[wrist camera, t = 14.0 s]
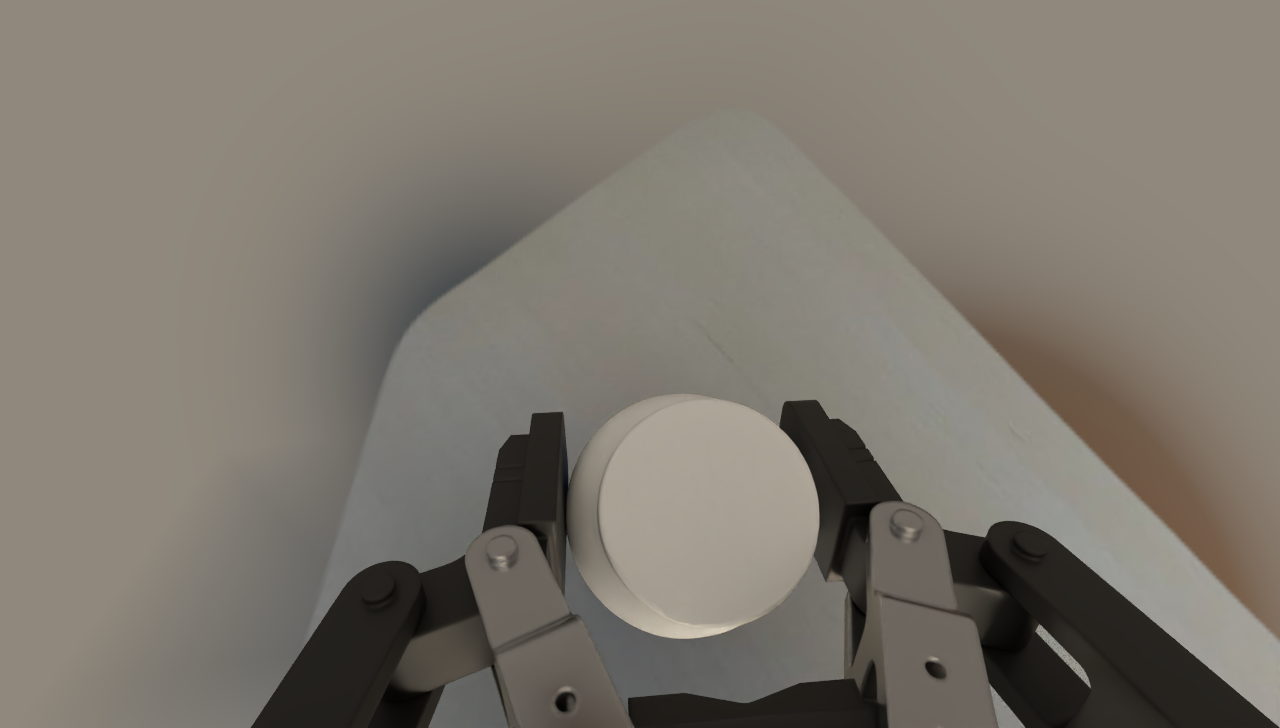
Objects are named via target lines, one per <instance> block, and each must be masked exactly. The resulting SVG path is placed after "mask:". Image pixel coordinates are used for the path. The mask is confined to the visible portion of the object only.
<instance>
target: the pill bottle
mask: <svg viewBox="0 0 1280 728" xmlns="http://www.w3.org/2000/svg"><path fill="white" fill-rule="evenodd" d="M566 526H567V535H568V540H569V544H570V548H571V551H572V555H573V558H574V560H575V563H576V565H577V567H578V569H579V571H580V573H581V575H582V577H583V579H584V580H585V582H586V584H587V585H588V587H589V588H590V589H591V591H592V592H593V593H594V595H595V596H596V597H597V598H598V599H599V600H600V601H601V602H602V603H603V605H604V606H606V607H607V608H608V609H609V610H610V611H611V612H613V613H614V614H615V615H616V616H618V617H619V618H621V619H622V620H624V621H625V622H627V623H628V624H630V625H632V626H634V627H636V628H639V629H641V630H643V631H645V632H648V633H651V634H654V635H658V636H662V637H669V638H676V639H692V638H701V637H707V636H712V635H717V634H720V633H724V632H727V631H729V630H731V629H734V628H736V627H738V626H740V625H743V624H746V623H749V622H751V621H754V620H756V619H758V618H760V617H762V616H764V615H765V614H767V613H768V612H770V611H772V610H773V609H775V608H777V607H778V606H779V605H780V604H781V603H783V602H784V601H785V599H786V598H787V597H788V596H789V595H790V594H791V593H792V592H793V591H794V589H795V588H796V587H797V585H798V584H799V582H800V581H801V579H802V578H803V577H804V575H805V573H806V571H807V569H808V567H809V565H810V562H811V560H812V557H813V554H814V552H815V548H816V544H817V538H818V531H819V501H818V496H817V491H816V487H815V484H814V481H813V477H812V474H811V472H810V469H809V467H808V465H807V463H806V461H805V459H804V457H803V456H802V454H801V453H800V451H799V449H798V448H797V446H796V445H795V444H794V442H793V441H792V440H791V439H790V438H789V436H788V435H787V434H786V433H785V432H784V431H782V430H781V429H780V428H779V427H778V426H777V425H776V424H775V423H774V422H772V421H771V420H769V419H768V418H767V417H765V416H764V415H762V414H760V413H758V412H756V411H755V410H753V409H751V408H748V407H745V406H743V405H740V404H737V403H734V402H730V401H725V400H719V399H716V398H712V397H708V396H704V395H697V394H669V395H661V396H655V397H652V398H649V399H645V400H642V401H639V402H637V403H635V404H633V405H631V406H629V407H627V408H625V409H623V410H622V411H620V412H619V413H617V414H616V415H614V416H613V417H612V418H611V419H609V420H608V421H607V422H606V423H605V424H604V425H603V426H602V427H601V428H600V429H599V430H598V431H597V432H596V433H595V434H594V436H593V437H592V438H591V439H590V441H589V442H588V444H587V445H586V446H585V448H584V449H583V451H582V453H581V455H580V456H579V459H578V461H577V463H576V465H575V468H574V470H573V473H572V476H571V480H570V483H569V488H568V493H567V501H566Z"/></svg>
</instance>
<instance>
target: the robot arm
mask: <svg viewBox="0 0 1280 728" xmlns="http://www.w3.org/2000/svg"><path fill="white" fill-rule="evenodd" d="M779 428H780V429H781V430H782V431H784V432H785V433H786V434H787V435H788V436H789V438H790V439H791V440H792V441H793V442H794V444H795V445H796V446H797V448H798V449H799V451H800V453H801V454H802V456H803V457H804V459H805V461H806V463H807V465H808V467H809V469H810V472H811V474H812V477H813V481H814V484H815V487H816V491H817V496H818V501H819V531H818V538H817V544H816V548H815V552H814V556H815V558H816V561H817V563H818V565H819V568H820V570H821V572H822V574H823V577H824V579H825V581H826V582H834V581H844V582H845V585H846V587H847V589H848V592H847V596H846V599H845V631H844V679H841V680H830V681H818V682H806V683H799V684H796V685H794V686H791V687H789V688H786V689H784V690H781V691H779V692H776V693H774V694H771V695H769V696H766V697H764V698H761V699H759V700H756V701H754V702H750V703H737V702H732V701H726V700H721V699H715V698H710V697H704V696H698V695H693V694H687V693H680V694H668V695H657V696H645V697H634V698H628V713H627V711H626V709H625V707H624V705H623V702H622V700H621V698H620V696H619V694H618V692H617V690H616V688H615V686H614V684H613V682H612V680H611V677H610V675H609V673H608V671H607V669H606V667H605V665H604V663H603V661H602V659H601V657H600V654H599V652H598V650H597V648H596V646H595V644H594V642H593V640H592V638H591V636H590V634H589V632H588V629H587V627H586V625H585V623H584V622H583V620H582V619H581V617H580V616H579V615H578V614H575V615H573V614H572V613H571V611H570V609H569V607H568V605H567V603H566V601H565V598H564V593H565V565H566V538H567V526H566V501H567V493H568V460H567V448H566V437H565V425H564V415H563V412H550V413H533V414H532V419H531V426H530V433H529V434H527V435H511V436H510V437H509V438H508V440H507V441H506V442H505V443H504V445H503V446H502V447H501V448H500V449H499V453H498V458H497V463H496V469H495V473H494V478H493V483H492V487H491V492H490V497H489V502H488V507H487V512H486V517H485V521H484V526H483V531H482V534H481V535H479V536H478V537H477V538H476V539H475V540H474V541H473V542H472V543H471V544H470V546H469V547H468V549H467V551H466V554H465V555H464V556H462V557H461V558H459V559H458V560H456V561H454V562H452V563H449V564H447V565H444V566H441V567H438V568H435V569H432V570H429V571H426V572H423V573H420V574H419V572H418V571H417V569H416V568H415V567H414V566H412V565H410V564H408V563H406V562H402V561H387V562H382V563H378V564H375V565H373V566H370V567H368V568H366V569H364V570H363V571H361V572H360V573H358V574H357V575H356V576H354V577H353V578H352V579H351V580H350V581H349V582H348V583H347V584H346V586H345V587H344V588H343V590H342V591H341V593H340V594H339V596H338V597H337V599H336V600H335V602H334V603H333V605H332V606H331V608H330V609H329V611H328V612H327V614H326V615H325V617H324V618H323V620H322V621H321V623H320V624H319V626H318V627H317V629H316V630H315V632H314V633H313V635H312V636H311V638H310V639H309V641H308V642H307V644H306V645H305V647H304V648H303V650H302V651H301V653H300V654H299V656H298V657H297V659H296V660H295V662H294V664H293V665H292V667H291V668H290V670H289V671H288V673H287V674H286V676H285V677H284V679H283V680H282V682H281V683H280V685H279V686H278V688H277V689H276V691H275V692H274V694H273V695H272V697H271V698H270V700H269V701H268V703H267V704H266V706H265V707H264V709H263V710H262V712H261V713H260V715H259V716H258V718H257V719H256V721H255V723H254V724H253V725H252V727H251V728H428V726H429V724H430V721H431V719H432V716H433V714H434V712H435V709H436V707H437V704H438V702H439V699H440V697H441V694H442V692H443V689H444V687H445V684H448V683H450V682H453V681H455V680H458V679H460V678H462V677H465V676H467V675H470V674H472V673H475V672H477V671H480V670H482V669H484V668H487V667H489V666H490V668H491V671H492V675H493V678H494V681H495V685H496V688H497V691H498V695H499V698H500V701H501V705H502V708H503V712H504V715H505V718H506V722H507V725H508V728H998V723H997V718H996V714H995V709H994V704H993V700H992V695H991V691H990V686H989V683H990V685H991V686H992V687H993V688H994V690H995V691H996V692H997V693H998V694H999V696H1000V697H1001V698H1002V699H1003V700H1004V702H1005V703H1006V704H1007V705H1008V707H1009V708H1010V709H1011V710H1012V711H1013V713H1014V714H1015V715H1016V716H1017V717H1018V719H1019V720H1020V721H1021V722H1022V724H1023V725H1024V726H1025V727H1026V728H1279V727H1278V726H1277V725H1276V724H1275V723H1273V722H1272V721H1271V720H1270V719H1269V718H1267V717H1266V716H1265V715H1264V714H1263V713H1262V712H1260V711H1259V710H1258V709H1257V708H1256V707H1254V706H1253V705H1252V704H1251V703H1250V702H1248V701H1247V700H1246V699H1245V698H1244V697H1242V696H1241V695H1240V694H1239V693H1238V692H1237V691H1235V690H1234V689H1233V688H1232V687H1231V686H1229V685H1228V684H1227V683H1226V682H1225V681H1223V680H1222V679H1221V678H1220V677H1219V676H1218V675H1216V674H1215V673H1214V672H1213V671H1212V670H1210V669H1209V668H1208V667H1207V666H1206V665H1204V664H1203V663H1202V662H1201V661H1200V660H1199V659H1197V658H1196V657H1195V656H1194V655H1193V654H1191V653H1190V652H1189V651H1188V650H1187V649H1185V648H1184V647H1183V646H1182V645H1181V644H1180V643H1178V642H1177V641H1176V640H1175V639H1174V638H1172V637H1171V636H1170V635H1169V634H1168V633H1166V632H1165V631H1164V630H1163V629H1162V628H1160V627H1159V626H1158V625H1157V624H1156V623H1155V622H1153V621H1152V620H1151V619H1150V618H1149V617H1147V616H1146V615H1145V614H1144V613H1143V612H1141V611H1140V610H1139V609H1138V608H1137V607H1136V606H1134V605H1133V604H1132V603H1131V602H1130V601H1128V600H1127V599H1126V598H1125V597H1124V596H1122V595H1121V594H1120V593H1119V592H1118V591H1117V590H1115V589H1114V588H1113V587H1112V586H1111V585H1109V584H1108V583H1107V582H1106V581H1105V580H1103V579H1102V578H1101V577H1100V576H1099V575H1098V574H1096V573H1095V572H1094V571H1093V570H1092V569H1090V568H1089V567H1088V566H1087V565H1086V564H1084V563H1083V562H1082V561H1081V560H1080V559H1078V558H1077V557H1076V556H1075V555H1074V554H1073V553H1071V552H1070V551H1069V550H1068V549H1067V548H1065V547H1064V546H1063V545H1062V544H1061V543H1059V542H1058V541H1057V540H1056V539H1055V538H1053V537H1052V536H1050V535H1049V534H1047V533H1046V532H1044V531H1042V530H1040V529H1038V528H1036V527H1033V526H1031V525H1028V524H1025V523H1021V522H1015V521H1002V522H998V523H995V524H994V525H992V526H991V527H990V529H989V531H988V533H987V535H986V537H979V536H974V535H968V534H963V533H958V532H952V531H948V530H944V529H942V527H941V525H940V524H939V522H938V521H937V520H936V519H935V518H934V517H933V516H932V515H931V514H929V513H928V512H927V511H925V510H923V509H922V508H920V507H917V506H915V505H913V504H910V503H906V502H903V500H902V499H901V497H900V496H899V494H898V493H897V491H896V490H895V488H894V487H893V485H892V484H891V483H890V481H889V480H888V478H887V477H886V475H885V474H884V472H883V471H882V469H881V468H880V466H879V465H878V463H877V462H876V461H874V458H873V456H872V455H871V453H870V452H869V450H868V449H866V447H865V444H864V443H863V441H862V440H861V438H860V437H859V435H858V434H857V432H856V431H855V430H853V429H852V428H851V427H849V426H848V425H847V424H845V423H844V422H842V421H841V420H840V419H829V418H828V416H827V415H826V413H825V411H824V410H823V408H822V407H821V405H820V404H819V402H818V401H817V400H803V401H786V402H785V403H784V405H783V408H782V414H781V420H780V427H779ZM1039 624H1040V625H1041V626H1042V627H1043V628H1044V629H1045V630H1046V631H1047V632H1048V633H1049V634H1050V635H1051V636H1052V637H1053V638H1054V639H1055V640H1056V641H1057V642H1058V643H1059V644H1060V645H1061V646H1062V647H1063V648H1064V649H1065V650H1066V651H1067V652H1068V653H1069V654H1070V655H1071V656H1072V657H1073V658H1074V659H1075V660H1076V661H1077V662H1078V663H1079V664H1080V665H1081V666H1082V668H1083V669H1084V671H1085V672H1086V674H1087V676H1088V678H1089V681H1090V685H1091V689H1090V688H1089V687H1088V685H1087V684H1086V683H1085V682H1084V681H1083V680H1082V679H1081V678H1080V677H1079V676H1078V675H1077V674H1076V673H1075V672H1074V671H1073V670H1072V669H1071V668H1070V667H1069V666H1068V665H1067V664H1066V663H1065V662H1064V661H1063V660H1062V659H1061V658H1060V657H1059V656H1058V655H1057V654H1056V653H1055V651H1054V650H1053V649H1052V648H1051V647H1050V646H1049V645H1048V644H1047V643H1046V642H1045V641H1044V640H1043V639H1042V638H1041V637H1040V636H1039V635H1038V634H1037V633H1036V632H1035V630H1036V629H1037V627H1038V625H1039Z"/></svg>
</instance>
